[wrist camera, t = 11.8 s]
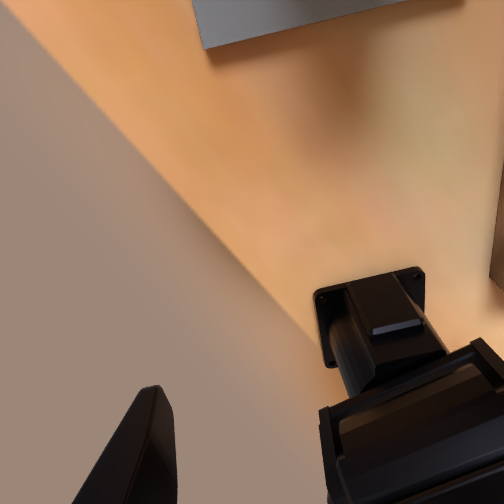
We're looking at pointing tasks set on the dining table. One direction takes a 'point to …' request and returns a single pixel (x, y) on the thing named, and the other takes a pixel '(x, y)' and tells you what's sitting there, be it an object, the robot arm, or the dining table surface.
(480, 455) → the robot arm
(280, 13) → the mat
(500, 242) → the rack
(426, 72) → the dining table surface
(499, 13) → the dining table surface
